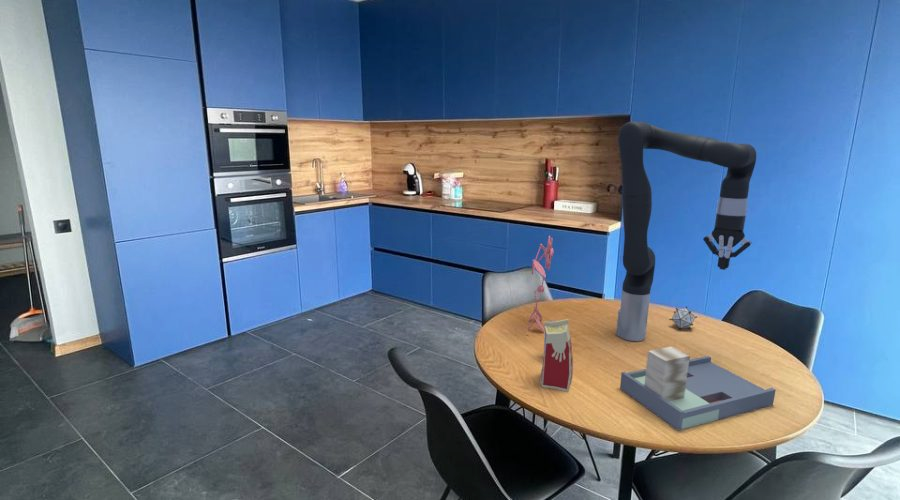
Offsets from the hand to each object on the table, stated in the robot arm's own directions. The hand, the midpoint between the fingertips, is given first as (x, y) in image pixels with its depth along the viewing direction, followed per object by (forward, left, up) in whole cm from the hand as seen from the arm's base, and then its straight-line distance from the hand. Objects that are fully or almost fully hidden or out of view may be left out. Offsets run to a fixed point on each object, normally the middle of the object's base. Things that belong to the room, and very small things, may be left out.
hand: (722, 269), depth 141 cm
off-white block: (-4, -35, -28) cm, 45 cm away
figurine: (-54, -8, -31) cm, 63 cm away
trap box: (+1, -25, -31) cm, 40 cm away
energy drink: (-40, -30, -31) cm, 59 cm away
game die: (-14, +24, -31) cm, 42 cm away
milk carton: (-32, -43, -31) cm, 62 cm away
